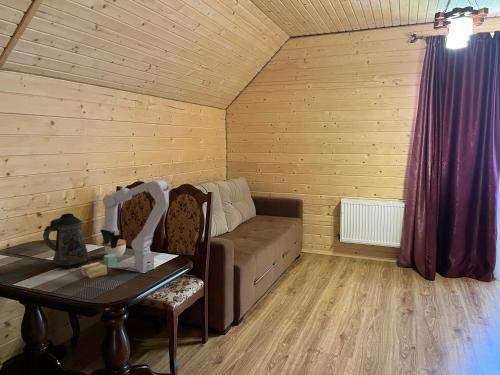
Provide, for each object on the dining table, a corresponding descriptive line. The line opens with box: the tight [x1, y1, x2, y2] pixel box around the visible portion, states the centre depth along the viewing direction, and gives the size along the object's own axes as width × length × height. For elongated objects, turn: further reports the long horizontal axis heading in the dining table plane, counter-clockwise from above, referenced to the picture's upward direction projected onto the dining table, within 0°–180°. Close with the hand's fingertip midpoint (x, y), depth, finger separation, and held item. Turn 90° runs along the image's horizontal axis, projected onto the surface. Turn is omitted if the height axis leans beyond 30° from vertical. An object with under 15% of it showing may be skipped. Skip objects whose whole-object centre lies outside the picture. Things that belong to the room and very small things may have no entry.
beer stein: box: [42, 212, 90, 270], centre depth 190 cm, size 16×19×25 cm
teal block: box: [103, 254, 118, 269], centre depth 192 cm, size 4×4×5 cm
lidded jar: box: [103, 238, 127, 259], centre depth 207 cm, size 11×11×9 cm
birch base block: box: [81, 261, 108, 279], centre depth 181 cm, size 8×8×4 cm
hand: (109, 245), depth 192 cm, fingers open, 7 cm apart
